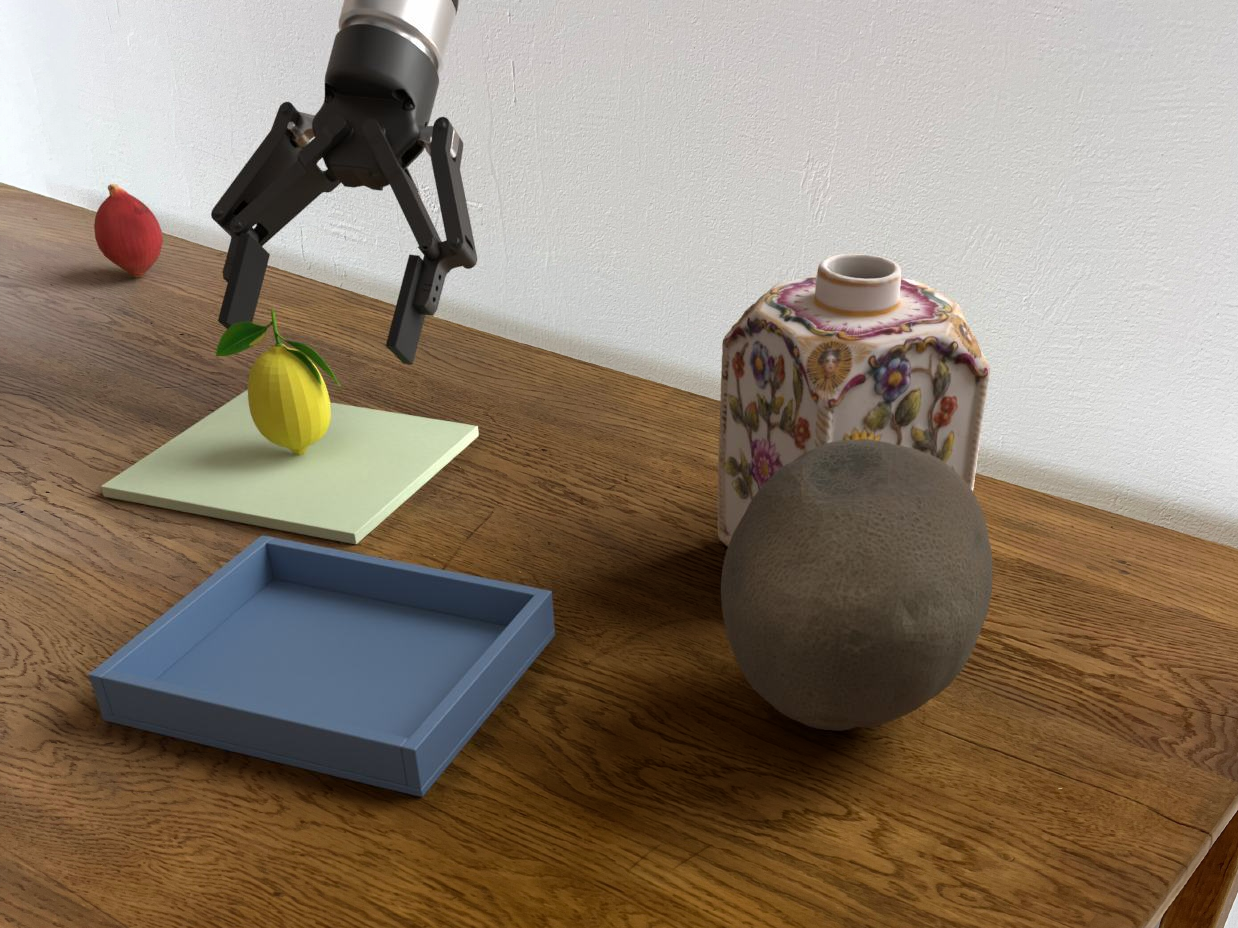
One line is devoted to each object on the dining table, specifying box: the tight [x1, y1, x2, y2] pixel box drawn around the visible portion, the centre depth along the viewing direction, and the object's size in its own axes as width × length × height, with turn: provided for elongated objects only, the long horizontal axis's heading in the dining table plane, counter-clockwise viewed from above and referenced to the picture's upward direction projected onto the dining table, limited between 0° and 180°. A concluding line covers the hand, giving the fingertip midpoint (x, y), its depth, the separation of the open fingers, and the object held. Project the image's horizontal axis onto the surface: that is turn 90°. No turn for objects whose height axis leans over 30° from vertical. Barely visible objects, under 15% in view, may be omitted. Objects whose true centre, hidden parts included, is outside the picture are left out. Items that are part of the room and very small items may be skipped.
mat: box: [100, 389, 480, 545], centre depth 97 cm, size 20×18×1 cm
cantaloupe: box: [720, 439, 994, 732], centre depth 69 cm, size 14×14×15 cm
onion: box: [93, 183, 164, 278], centre depth 125 cm, size 6×6×8 cm
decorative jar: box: [717, 253, 991, 547], centre depth 81 cm, size 12×12×18 cm
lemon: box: [215, 309, 341, 455], centre depth 94 cm, size 7×6×10 cm
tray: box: [88, 534, 556, 798], centre depth 76 cm, size 20×17×3 cm
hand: (314, 343), depth 96 cm, fingers open, 13 cm apart
